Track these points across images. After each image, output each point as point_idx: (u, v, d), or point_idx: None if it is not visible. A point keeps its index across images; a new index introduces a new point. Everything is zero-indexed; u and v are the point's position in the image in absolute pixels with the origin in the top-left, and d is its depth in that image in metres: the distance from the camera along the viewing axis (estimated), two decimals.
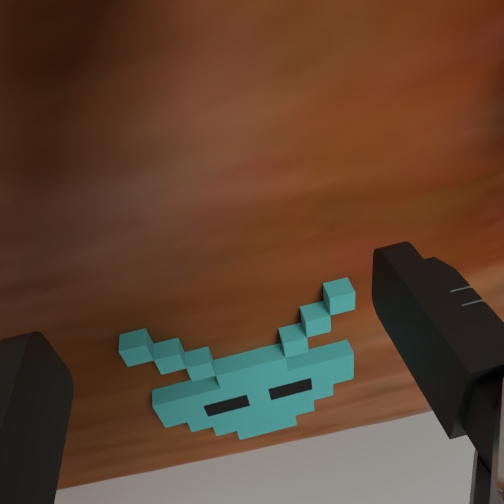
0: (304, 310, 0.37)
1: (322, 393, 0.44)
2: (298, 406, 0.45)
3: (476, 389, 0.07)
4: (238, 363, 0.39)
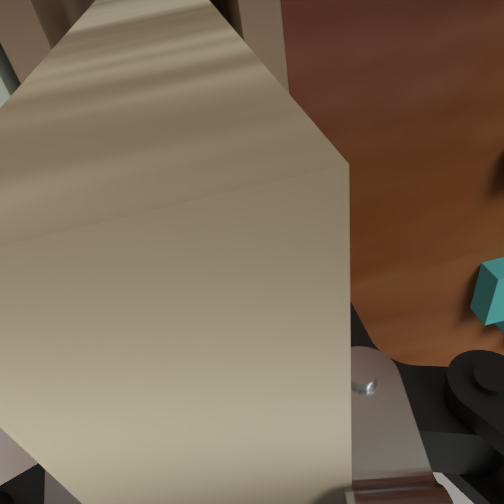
0: None
1: None
2: None
3: None
4: None
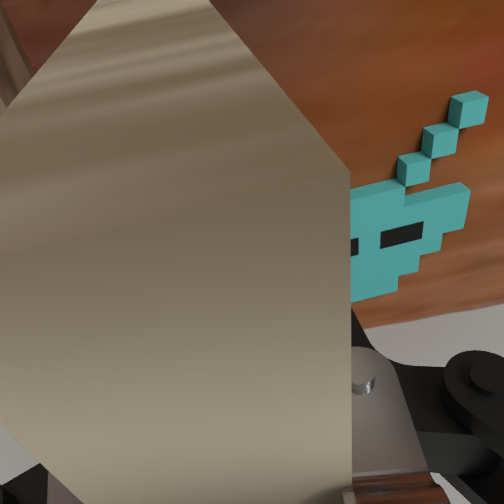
0: (429, 129, 0.36)
1: (430, 247, 0.43)
2: (404, 262, 0.43)
3: None
4: (356, 194, 0.38)
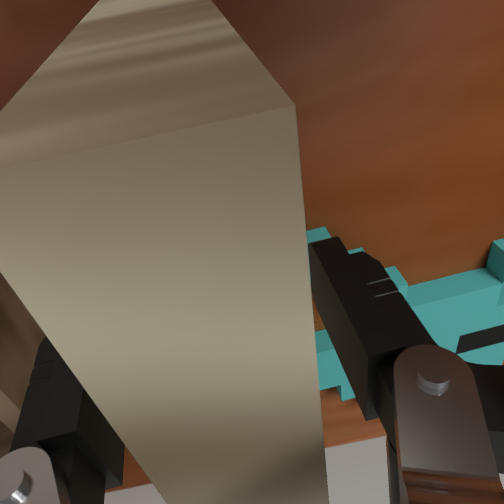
0: None
1: None
2: None
3: (379, 371, 0.08)
4: (433, 293, 0.27)
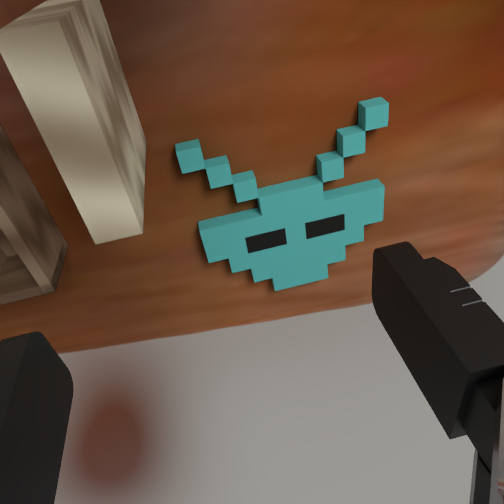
0: (341, 130, 0.40)
1: (353, 237, 0.47)
2: (330, 252, 0.48)
3: (475, 389, 0.07)
4: (279, 189, 0.42)
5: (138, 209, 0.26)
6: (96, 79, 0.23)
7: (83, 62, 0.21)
